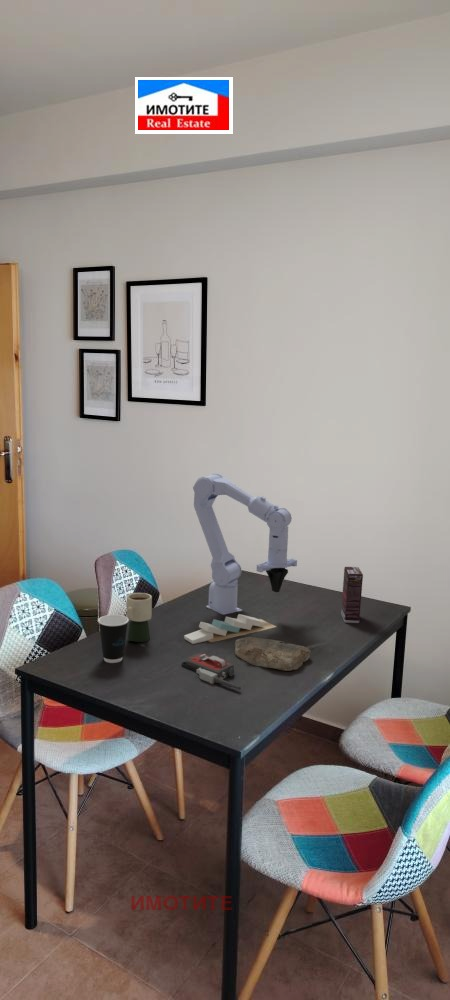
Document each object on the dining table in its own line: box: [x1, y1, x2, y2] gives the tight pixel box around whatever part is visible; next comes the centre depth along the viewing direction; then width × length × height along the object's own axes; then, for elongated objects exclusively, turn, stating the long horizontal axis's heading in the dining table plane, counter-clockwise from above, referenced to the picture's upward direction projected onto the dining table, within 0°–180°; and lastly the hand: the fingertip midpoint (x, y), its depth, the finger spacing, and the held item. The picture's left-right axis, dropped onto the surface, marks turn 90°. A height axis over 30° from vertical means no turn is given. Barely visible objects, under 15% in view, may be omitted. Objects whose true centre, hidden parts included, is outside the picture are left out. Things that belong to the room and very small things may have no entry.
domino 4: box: [236, 613, 264, 627], centre depth 210 cm, size 2×4×7 cm
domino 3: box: [223, 616, 252, 630], centre depth 207 cm, size 2×4×7 cm
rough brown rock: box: [234, 636, 311, 672], centre depth 189 cm, size 14×5×20 cm
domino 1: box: [183, 628, 213, 645], centre depth 199 cm, size 2×4×7 cm
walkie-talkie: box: [181, 652, 242, 690], centre depth 177 cm, size 9×4×20 cm
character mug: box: [125, 592, 153, 643], centre depth 197 cm, size 11×7×13 cm, turn 154°
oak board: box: [207, 618, 277, 643], centre depth 207 cm, size 8×24×1 cm, turn 126°
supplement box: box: [340, 566, 364, 624], centre depth 221 cm, size 9×5×16 cm, turn 179°
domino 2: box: [198, 621, 227, 636], centre depth 202 cm, size 2×4×7 cm
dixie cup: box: [97, 614, 130, 664], centre depth 184 cm, size 8×8×11 cm
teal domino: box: [211, 618, 240, 633], centre depth 205 cm, size 2×4×7 cm
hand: (275, 591), depth 217 cm, fingers closed
